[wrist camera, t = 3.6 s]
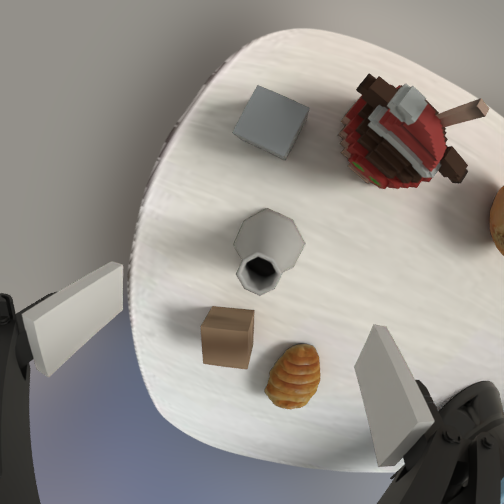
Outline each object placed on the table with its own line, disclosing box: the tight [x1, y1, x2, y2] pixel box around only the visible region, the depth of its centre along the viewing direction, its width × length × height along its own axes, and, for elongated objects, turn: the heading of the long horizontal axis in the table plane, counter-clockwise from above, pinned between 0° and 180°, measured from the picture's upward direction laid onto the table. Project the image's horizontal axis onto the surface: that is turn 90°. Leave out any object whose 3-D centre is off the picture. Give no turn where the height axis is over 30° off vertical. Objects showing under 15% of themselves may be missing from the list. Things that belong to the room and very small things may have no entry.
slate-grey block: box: [232, 85, 309, 160], centre depth 24 cm, size 5×5×5 cm
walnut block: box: [201, 306, 254, 369], centre depth 31 cm, size 5×5×5 cm
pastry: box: [265, 344, 320, 409], centre depth 32 cm, size 9×7×4 cm
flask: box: [234, 208, 305, 296], centre depth 25 cm, size 7×7×10 cm
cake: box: [339, 74, 489, 189], centre depth 17 cm, size 11×9×18 cm
